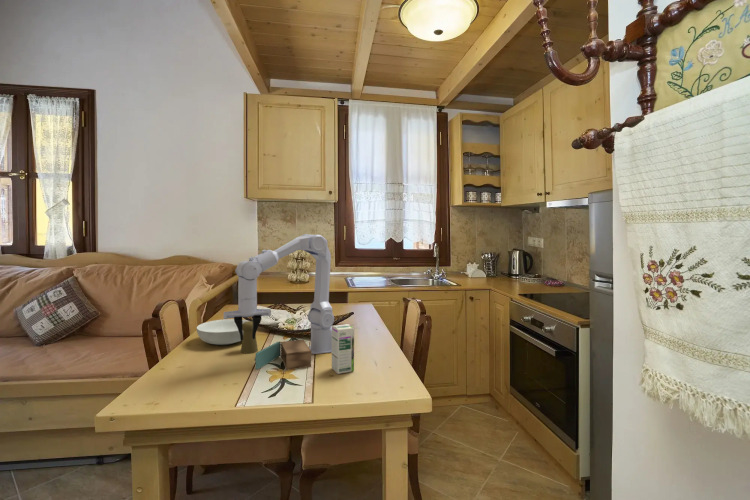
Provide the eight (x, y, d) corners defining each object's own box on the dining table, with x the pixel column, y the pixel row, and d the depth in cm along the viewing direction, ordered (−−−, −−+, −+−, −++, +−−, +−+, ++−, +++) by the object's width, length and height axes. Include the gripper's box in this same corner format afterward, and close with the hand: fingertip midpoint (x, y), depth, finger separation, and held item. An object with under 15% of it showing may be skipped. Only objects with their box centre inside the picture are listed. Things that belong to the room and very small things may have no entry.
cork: (252, 354, 130) (252, 324, 130) (237, 353, 131) (237, 323, 131) (260, 349, 136) (260, 320, 135) (246, 347, 137) (246, 319, 137)
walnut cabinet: (303, 354, 131) (303, 339, 131) (311, 366, 120) (311, 350, 119) (280, 356, 128) (280, 341, 128) (286, 369, 117) (286, 353, 116)
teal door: (280, 355, 128) (280, 341, 128) (258, 369, 116) (258, 353, 115) (275, 355, 129) (275, 340, 129) (252, 368, 116) (252, 352, 116)
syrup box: (337, 374, 114) (338, 329, 113) (331, 368, 119) (331, 324, 118) (354, 371, 116) (354, 327, 115) (347, 365, 121) (347, 323, 121)
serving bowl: (259, 344, 142) (259, 327, 141) (201, 354, 130) (201, 335, 130) (245, 331, 159) (245, 316, 158) (193, 338, 147) (192, 322, 147)
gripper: (269, 294, 124) (269, 333, 124) (223, 296, 118) (223, 337, 119) (271, 298, 117) (271, 339, 118) (223, 300, 111) (223, 343, 112)
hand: (247, 338), depth 118 cm, fingers open, 3 cm apart
